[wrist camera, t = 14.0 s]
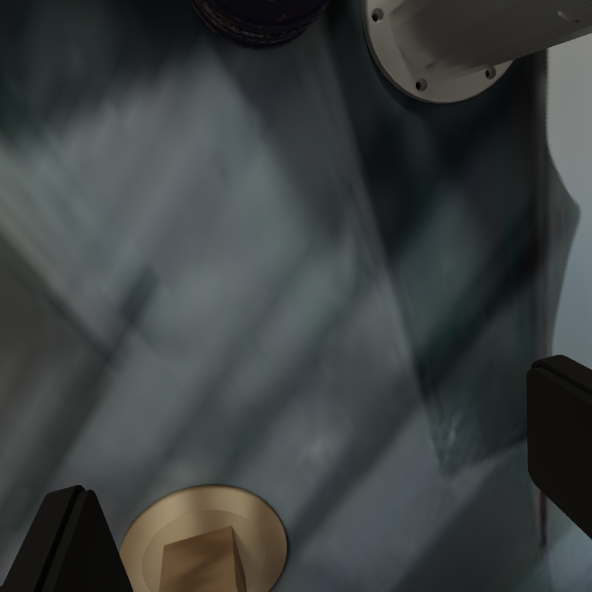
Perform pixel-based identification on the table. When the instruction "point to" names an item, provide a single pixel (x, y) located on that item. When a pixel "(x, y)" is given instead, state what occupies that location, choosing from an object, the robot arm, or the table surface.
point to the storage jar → (259, 20)
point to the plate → (201, 519)
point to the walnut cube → (203, 564)
